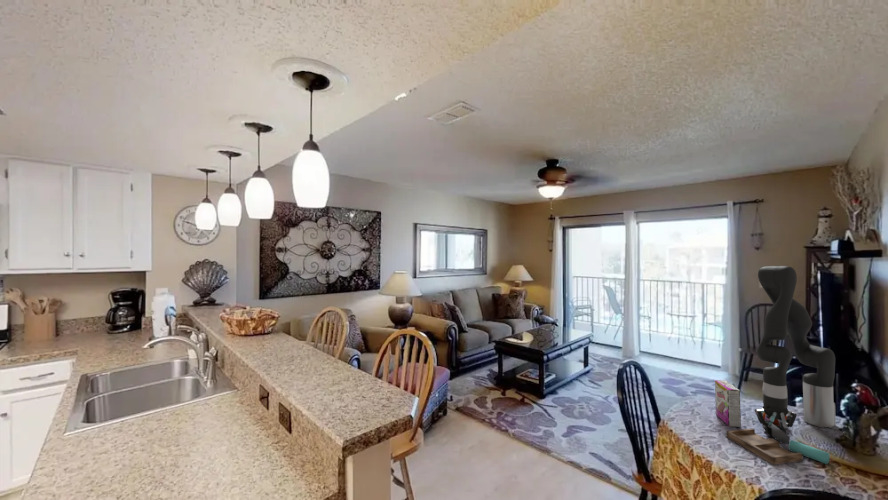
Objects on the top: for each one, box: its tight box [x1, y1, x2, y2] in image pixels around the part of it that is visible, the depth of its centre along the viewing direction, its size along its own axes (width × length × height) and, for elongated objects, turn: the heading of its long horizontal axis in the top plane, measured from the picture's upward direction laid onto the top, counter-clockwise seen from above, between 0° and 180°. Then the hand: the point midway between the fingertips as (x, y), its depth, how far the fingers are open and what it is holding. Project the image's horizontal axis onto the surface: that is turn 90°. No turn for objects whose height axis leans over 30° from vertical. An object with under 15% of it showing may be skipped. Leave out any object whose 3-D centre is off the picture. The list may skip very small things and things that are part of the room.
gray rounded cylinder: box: [761, 424, 791, 444], centre depth 151 cm, size 10×4×4 cm, turn 167°
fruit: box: [763, 412, 788, 428], centre depth 159 cm, size 8×8×8 cm
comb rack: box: [726, 428, 803, 465], centre depth 143 cm, size 12×19×2 cm, turn 7°
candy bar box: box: [714, 379, 742, 428], centre depth 165 cm, size 11×5×16 cm, turn 168°
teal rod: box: [788, 439, 831, 465], centre depth 137 cm, size 10×4×4 cm
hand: (775, 435), depth 151 cm, fingers closed on gray rounded cylinder, 4 cm apart
